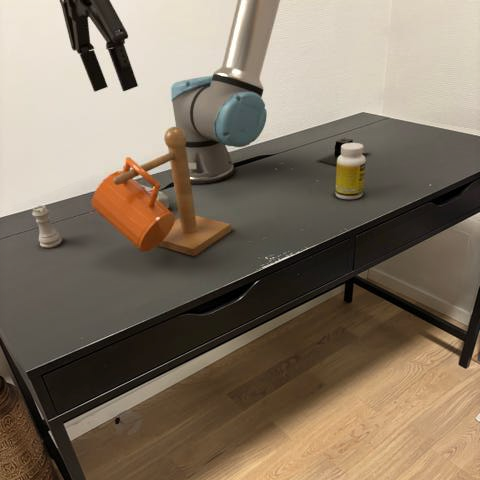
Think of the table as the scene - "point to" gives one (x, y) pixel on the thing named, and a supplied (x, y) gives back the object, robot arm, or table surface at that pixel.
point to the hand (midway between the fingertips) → (115, 89)
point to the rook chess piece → (46, 228)
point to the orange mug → (134, 208)
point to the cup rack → (182, 200)
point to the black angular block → (337, 152)
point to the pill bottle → (350, 171)
